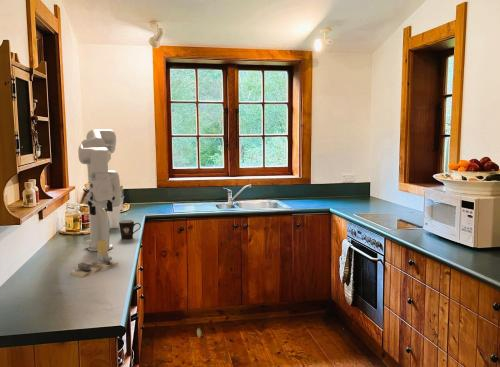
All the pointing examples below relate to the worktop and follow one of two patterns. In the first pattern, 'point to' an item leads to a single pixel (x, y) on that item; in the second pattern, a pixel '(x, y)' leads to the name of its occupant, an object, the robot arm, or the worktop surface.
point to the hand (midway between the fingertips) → (101, 212)
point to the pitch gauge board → (92, 268)
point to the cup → (114, 216)
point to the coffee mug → (127, 228)
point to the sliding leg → (102, 251)
